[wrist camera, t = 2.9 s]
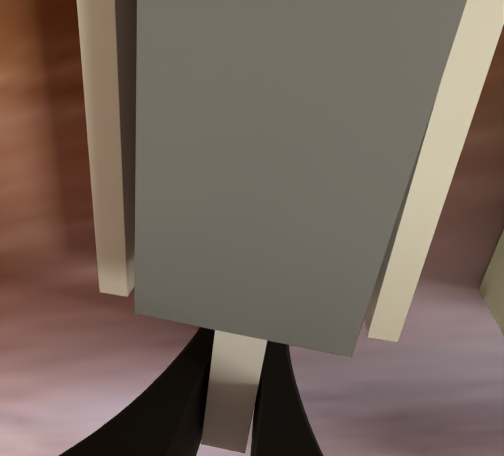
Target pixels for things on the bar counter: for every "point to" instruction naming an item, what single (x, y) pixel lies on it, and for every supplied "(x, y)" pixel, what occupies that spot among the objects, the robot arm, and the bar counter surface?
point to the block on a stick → (275, 170)
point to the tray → (495, 284)
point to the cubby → (416, 194)
